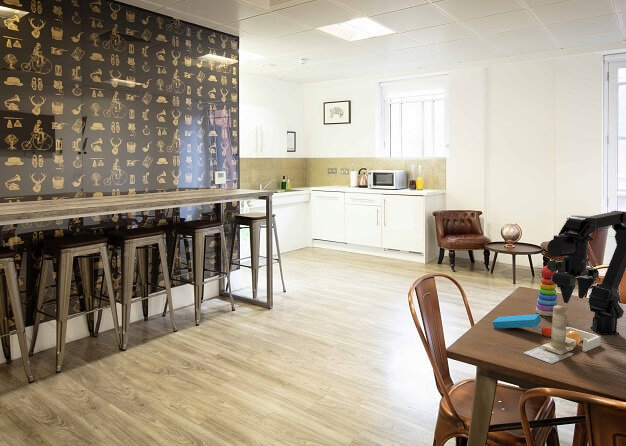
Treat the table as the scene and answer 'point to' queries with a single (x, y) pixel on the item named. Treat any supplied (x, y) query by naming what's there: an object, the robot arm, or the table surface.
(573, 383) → the table surface
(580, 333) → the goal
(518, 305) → the table surface
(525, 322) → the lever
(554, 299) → the stacking toy
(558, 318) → the beige peg stand
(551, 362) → the grey rectangular plate
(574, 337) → the ball
